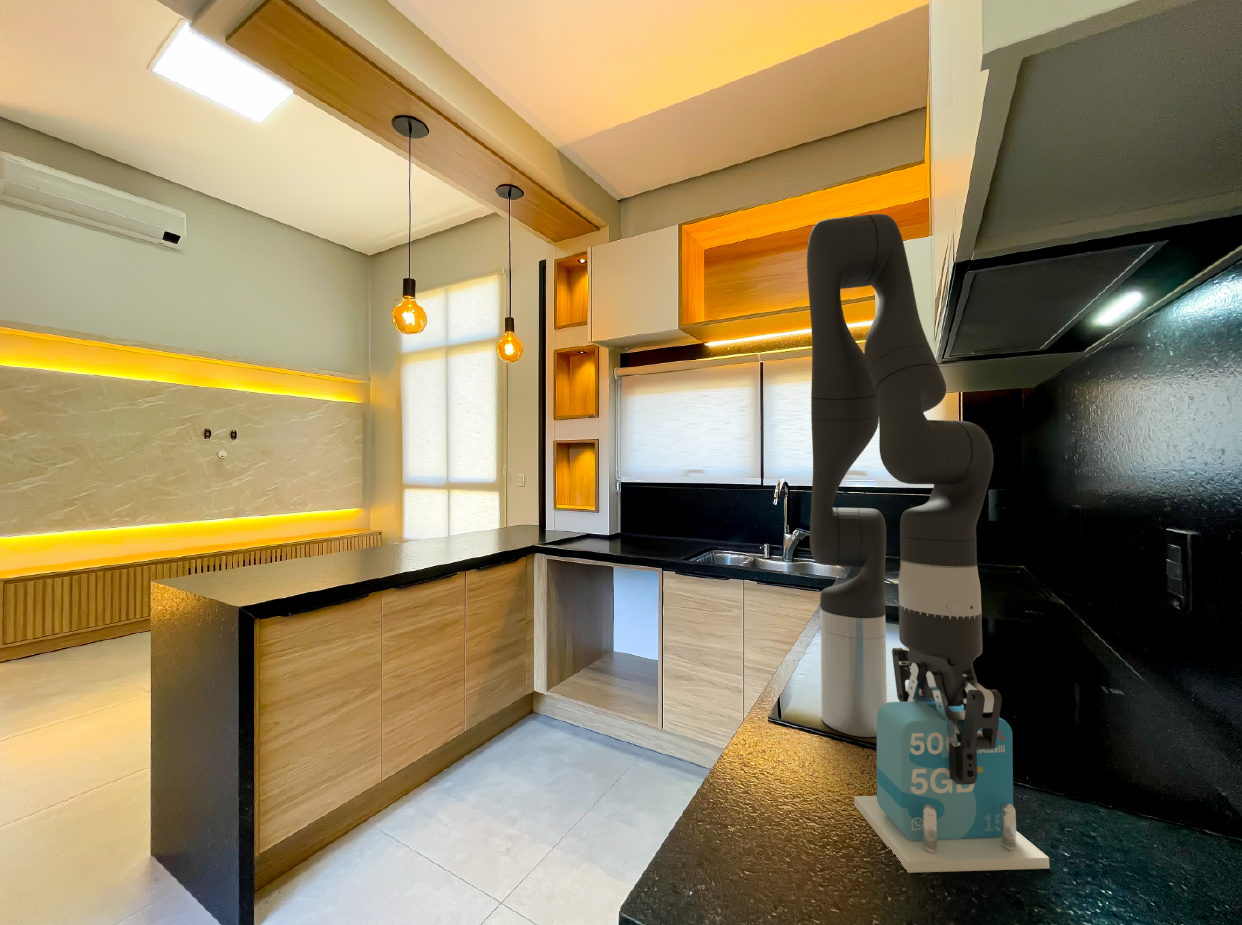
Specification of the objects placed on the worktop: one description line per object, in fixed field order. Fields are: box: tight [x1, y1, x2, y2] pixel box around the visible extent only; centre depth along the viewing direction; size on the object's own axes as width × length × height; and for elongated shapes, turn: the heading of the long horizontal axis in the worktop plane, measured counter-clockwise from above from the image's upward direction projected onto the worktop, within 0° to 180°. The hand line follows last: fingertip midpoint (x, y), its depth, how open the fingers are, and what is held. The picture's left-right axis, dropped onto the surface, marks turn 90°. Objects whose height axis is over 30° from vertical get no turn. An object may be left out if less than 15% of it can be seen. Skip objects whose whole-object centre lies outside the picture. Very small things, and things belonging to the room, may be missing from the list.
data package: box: [876, 701, 1014, 841], centre depth 53 cm, size 12×4×12 cm, turn 94°
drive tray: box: [853, 795, 1050, 874], centre depth 53 cm, size 10×14×1 cm
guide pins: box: [922, 802, 1017, 853], centre depth 53 cm, size 9×9×4 cm
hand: (942, 764), depth 53 cm, fingers open, 5 cm apart
